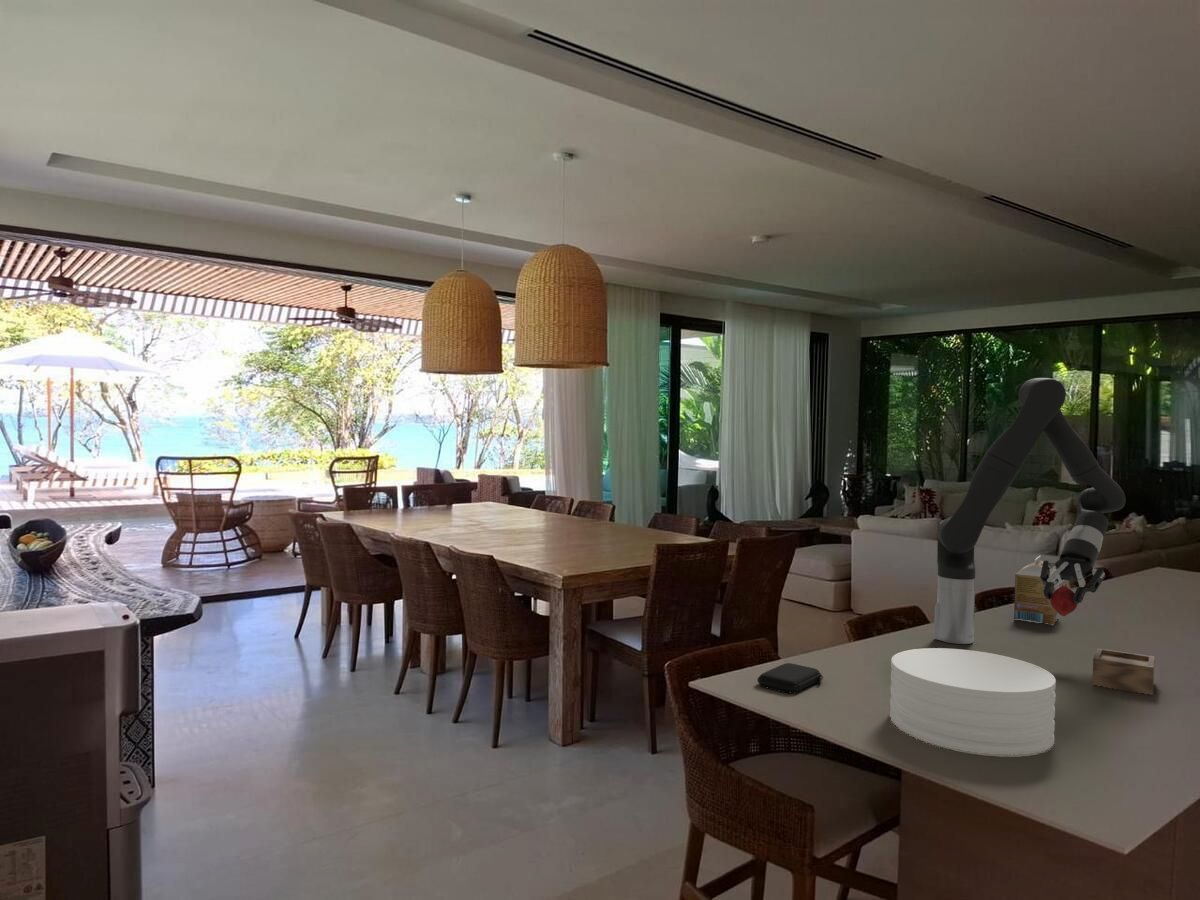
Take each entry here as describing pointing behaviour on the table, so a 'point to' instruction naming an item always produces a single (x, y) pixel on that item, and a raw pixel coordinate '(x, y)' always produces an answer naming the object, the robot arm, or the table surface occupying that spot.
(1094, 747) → the table surface
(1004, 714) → the plate stack
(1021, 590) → the milk carton
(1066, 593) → the onion
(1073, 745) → the table surface
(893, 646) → the table surface
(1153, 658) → the wooden tray
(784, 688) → the carrying case or bag
